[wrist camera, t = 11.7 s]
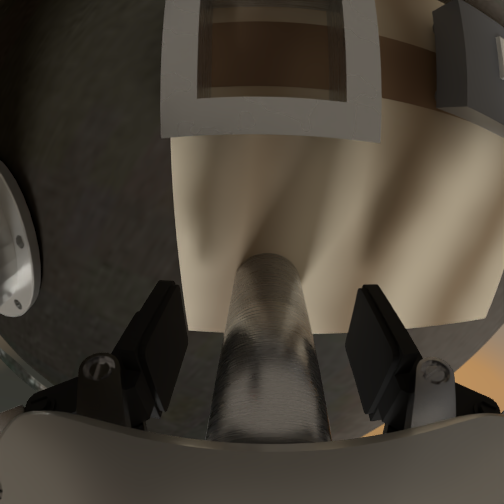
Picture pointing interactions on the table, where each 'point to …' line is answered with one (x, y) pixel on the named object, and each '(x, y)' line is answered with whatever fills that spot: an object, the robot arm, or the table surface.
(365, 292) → the robot arm
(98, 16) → the table surface
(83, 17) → the table surface
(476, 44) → the block
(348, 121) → the socket
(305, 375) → the awl
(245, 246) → the board
